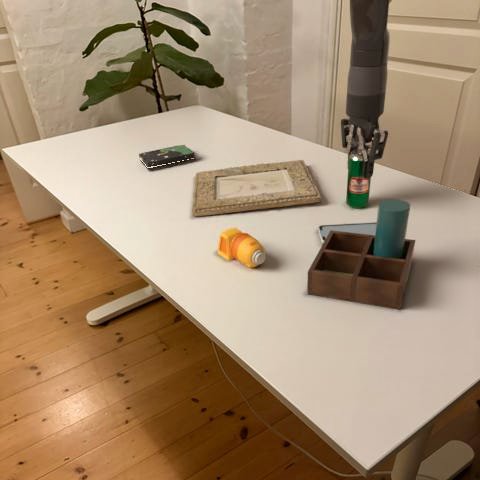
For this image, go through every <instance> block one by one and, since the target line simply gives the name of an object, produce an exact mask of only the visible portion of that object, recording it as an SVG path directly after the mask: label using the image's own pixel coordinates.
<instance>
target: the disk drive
mask: <svg viewBox="0 0 480 480" xmlns="http://www.w3.org/2000/svg"><path fill="white" fill-rule="evenodd" d="M138 157H139V161H140V163H141V164H142V165H143V166H144V168H146V170H147V171H155V170H159V169H165V168H169V167H172V166H179V165H184V164H187V163H191V162H194V161H196V154H195V152H194V151H193V150H192V149H191V148H190V147H189V148H188V146H186V144H180V145H174V146H169V147H165V148H164V147H163V148H160V149H154V150H149V151H143V152H141V153H138ZM140 158H141V160H142V161H143V162H144V163H145V164H146V166H147V167H151V166H157V165H162V164H166V165H162V166H157V167H153V168H147V167H146V166H145V164H144V163H143V162H142V161H141V160H140ZM191 158H194V159H191ZM187 159H189V160H187ZM182 160H184V161H182ZM177 161H180V162H177ZM172 162H175V163H172ZM168 163H171V164H168Z"/></svg>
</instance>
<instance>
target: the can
mask: <svg viewBox="0 0 480 480" xmlns="http://www.w3.org/2000/svg"><path fill="white" fill-rule="evenodd" d="M410 210H411V204H410V203H409V202H408V201H406V200H404V199H400V198H388V199H383V200H381V201H380V202H378V207H377V216H376V222H377V224H376V233H375V242H374V250H373V255H374V256H381V257H389V258H397V259H402V256H403V250H404V243H405V239H406V236H407V229H408V225H409V217H410Z"/></svg>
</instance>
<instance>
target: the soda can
mask: <svg viewBox="0 0 480 480" xmlns="http://www.w3.org/2000/svg"><path fill="white" fill-rule="evenodd" d="M370 151H371V149H368V155H370ZM363 161H364V157H363V151H362V150H361V149H360V148H359V149H356V150H353V151H352V152H351V155H350V156H349V164H348V163H347V181H346V183H347V184H346V194H345V195H346V196H345V204H346V205H347V206H348V207H349V208H352V209H362V208H366V206H367V205H368V204H369V202H370V193H371V191H370V190H371V182H372V177H370V178H363V177H362V170H363Z"/></svg>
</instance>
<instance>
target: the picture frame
mask: <svg viewBox="0 0 480 480" xmlns="http://www.w3.org/2000/svg"><path fill="white" fill-rule="evenodd" d="M194 180H195V181H194V189H193V201H192V211H191V213H192V217H203V216H205V217H206V216H215V215H222V214H229V213H230V214H231V213H238V212H248V211H254V210H263V209H272V208H280V207H281V208H282V207H288V206H289V207H290V206H297V205H305V204H315V203H318V202H321V201H322V197H321V193H320V191H319V189H318V187H317V185H316V183H315V181H314V179H313V177H312V174H311V173H310V171H309V169H308V167H307V165H306V163H305V161H304V159H297V160H289V161H280V162H271V163H269V162H268V163H257V164H250V165H243V166H234V167H231V166H230V167H227V168H226V167H225V168H220V169H212V170H205V171H199V172H195V179H194Z"/></svg>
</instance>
